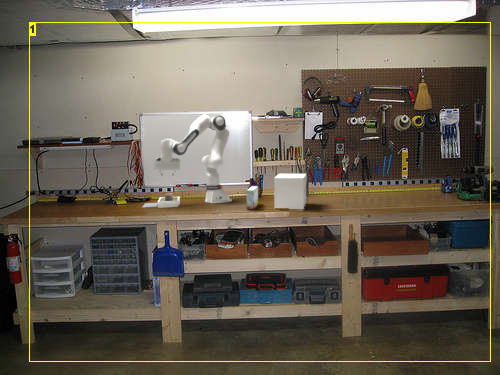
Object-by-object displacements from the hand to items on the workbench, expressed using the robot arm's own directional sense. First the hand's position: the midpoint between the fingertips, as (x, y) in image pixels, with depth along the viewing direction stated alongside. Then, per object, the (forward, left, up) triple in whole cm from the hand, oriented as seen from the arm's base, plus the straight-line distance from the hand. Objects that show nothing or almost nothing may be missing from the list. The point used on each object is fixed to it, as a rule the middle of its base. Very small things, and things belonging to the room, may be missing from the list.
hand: (167, 175), depth 301 cm
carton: (0, 0, -24) cm, 24 cm away
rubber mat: (+15, 0, -24) cm, 28 cm away
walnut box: (0, 0, -24) cm, 24 cm away
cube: (-95, +27, -25) cm, 102 cm away
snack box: (-66, +22, -25) cm, 74 cm away
